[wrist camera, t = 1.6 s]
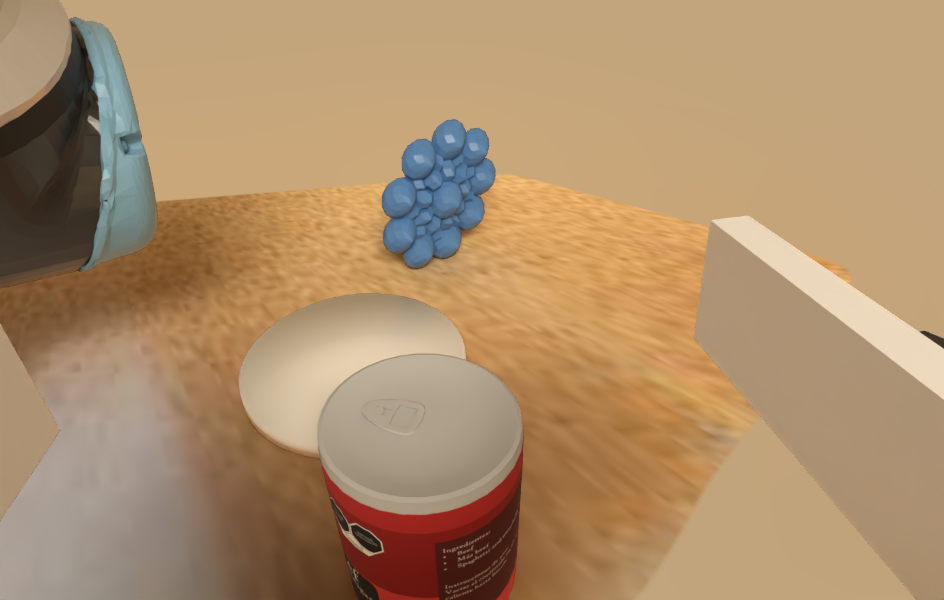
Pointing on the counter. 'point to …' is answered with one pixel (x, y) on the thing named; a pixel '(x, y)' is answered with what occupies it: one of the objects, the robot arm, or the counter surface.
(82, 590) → the counter surface
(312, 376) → the plate
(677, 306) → the counter surface
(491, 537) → the canned food
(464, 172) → the grapes
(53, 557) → the counter surface
